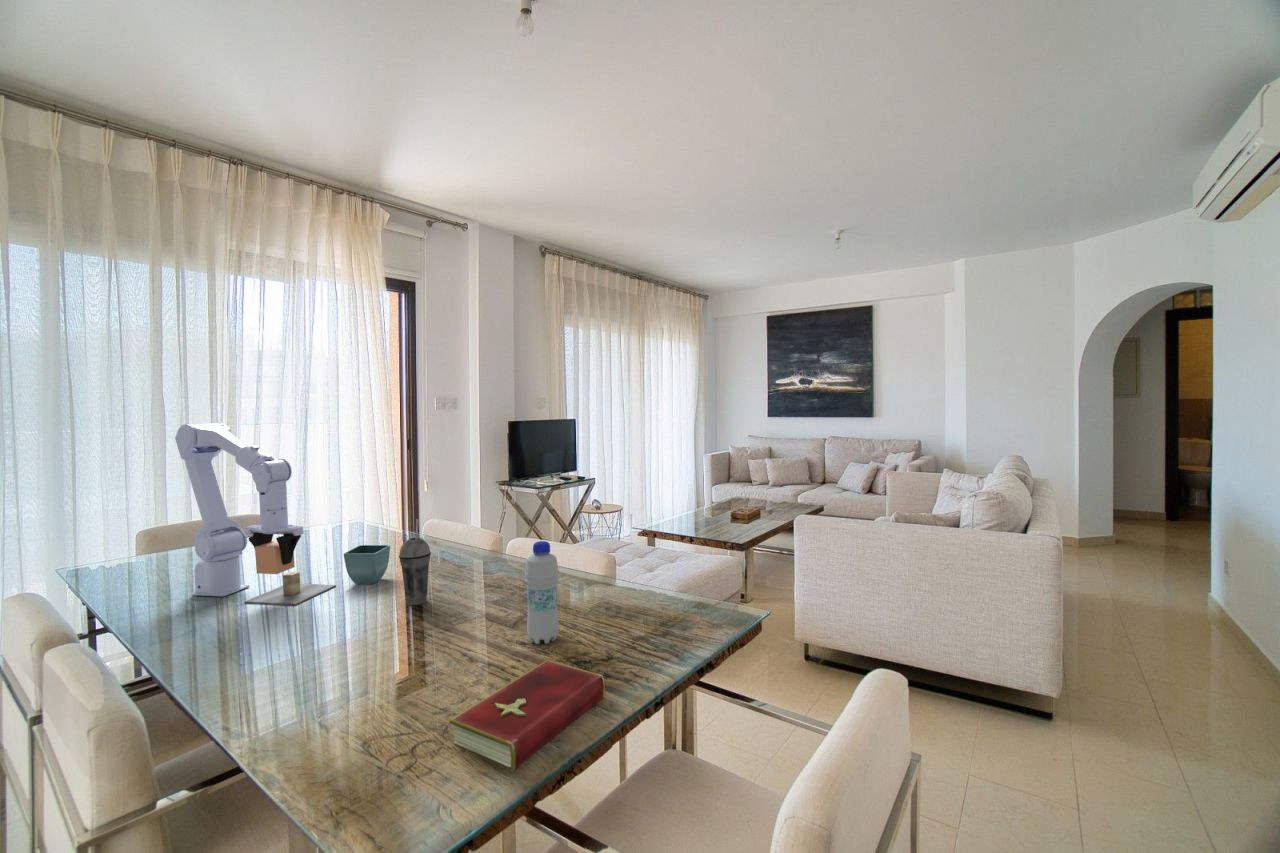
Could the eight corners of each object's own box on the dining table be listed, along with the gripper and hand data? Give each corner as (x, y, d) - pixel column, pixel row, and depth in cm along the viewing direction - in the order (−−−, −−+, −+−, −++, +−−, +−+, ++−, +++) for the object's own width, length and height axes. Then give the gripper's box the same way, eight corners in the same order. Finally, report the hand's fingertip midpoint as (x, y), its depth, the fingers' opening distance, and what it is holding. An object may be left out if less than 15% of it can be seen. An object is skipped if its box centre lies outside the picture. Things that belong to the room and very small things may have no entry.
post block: (244, 603, 137) (243, 581, 137) (289, 584, 151) (288, 564, 150) (295, 605, 134) (294, 583, 134) (335, 586, 148) (335, 566, 148)
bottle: (565, 635, 115) (563, 538, 114) (550, 648, 109) (547, 546, 108) (537, 631, 117) (534, 536, 116) (519, 644, 111) (517, 544, 110)
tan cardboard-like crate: (256, 573, 137) (255, 546, 137) (275, 566, 142) (273, 540, 142) (276, 574, 136) (275, 547, 136) (294, 567, 142) (293, 541, 141)
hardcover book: (605, 699, 90) (604, 674, 90) (513, 775, 72) (512, 743, 72) (547, 681, 97) (547, 657, 96) (450, 747, 79) (449, 718, 78)
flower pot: (376, 586, 148) (375, 553, 147) (343, 587, 148) (342, 553, 148) (392, 576, 156) (391, 544, 156) (360, 576, 157) (359, 544, 156)
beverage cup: (393, 605, 134) (390, 522, 133) (416, 595, 141) (413, 516, 140) (417, 608, 131) (414, 524, 130) (439, 598, 138) (436, 518, 137)
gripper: (234, 511, 136) (237, 566, 137) (286, 512, 134) (288, 568, 134) (258, 506, 143) (261, 558, 144) (308, 507, 140) (311, 560, 141)
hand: (276, 563), depth 139 cm, fingers closed on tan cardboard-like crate, 6 cm apart
